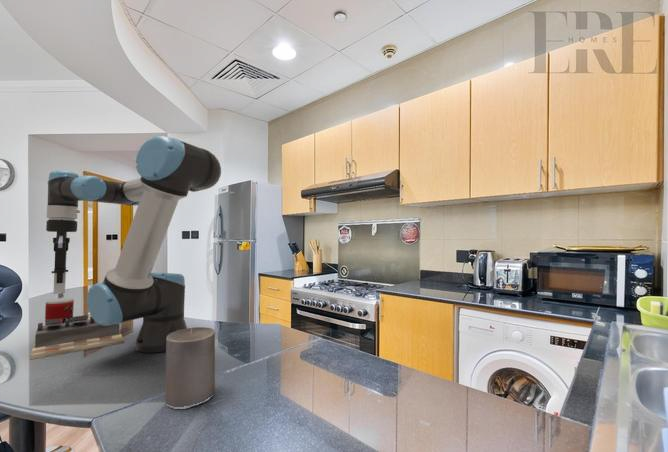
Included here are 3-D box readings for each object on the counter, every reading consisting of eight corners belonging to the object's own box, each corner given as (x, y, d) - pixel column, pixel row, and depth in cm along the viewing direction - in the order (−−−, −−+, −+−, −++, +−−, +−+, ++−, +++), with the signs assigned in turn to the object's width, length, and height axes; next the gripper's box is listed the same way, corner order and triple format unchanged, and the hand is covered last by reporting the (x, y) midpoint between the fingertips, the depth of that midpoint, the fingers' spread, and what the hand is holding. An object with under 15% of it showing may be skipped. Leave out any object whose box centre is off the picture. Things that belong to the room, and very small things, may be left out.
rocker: (61, 322, 98) (61, 317, 99) (45, 324, 96) (46, 319, 96) (61, 323, 105) (61, 319, 105) (47, 325, 103) (47, 320, 103)
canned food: (67, 331, 115) (68, 301, 115) (40, 333, 112) (41, 302, 112) (76, 326, 122) (77, 297, 122) (50, 328, 119) (51, 299, 119)
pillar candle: (184, 385, 72) (185, 320, 73) (223, 388, 71) (223, 322, 71) (153, 408, 63) (154, 333, 63) (197, 412, 61) (198, 335, 62)
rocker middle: (87, 318, 103) (87, 314, 103) (73, 320, 100) (73, 316, 101) (86, 320, 109) (86, 316, 109) (72, 321, 107) (72, 317, 107)
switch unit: (123, 342, 102) (124, 320, 102) (30, 359, 88) (31, 333, 88) (117, 330, 116) (117, 310, 116) (35, 343, 101) (36, 320, 102)
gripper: (77, 219, 98) (73, 295, 97) (77, 220, 108) (74, 289, 107) (44, 218, 93) (40, 297, 92) (48, 220, 103) (45, 291, 102)
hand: (59, 293), depth 100 cm, fingers closed
